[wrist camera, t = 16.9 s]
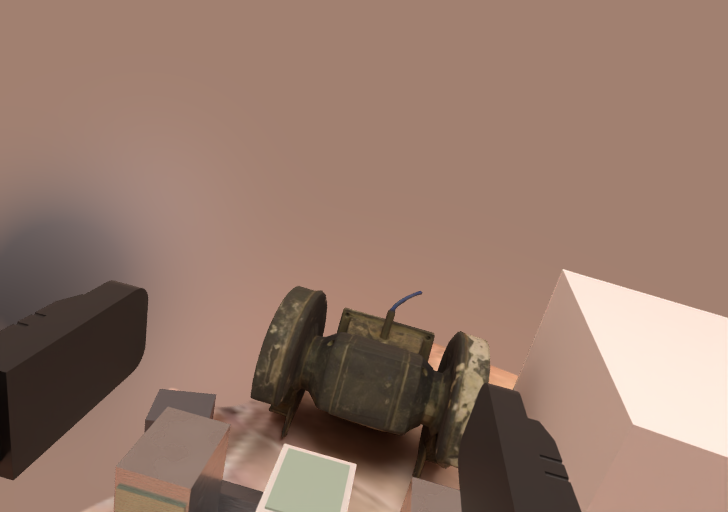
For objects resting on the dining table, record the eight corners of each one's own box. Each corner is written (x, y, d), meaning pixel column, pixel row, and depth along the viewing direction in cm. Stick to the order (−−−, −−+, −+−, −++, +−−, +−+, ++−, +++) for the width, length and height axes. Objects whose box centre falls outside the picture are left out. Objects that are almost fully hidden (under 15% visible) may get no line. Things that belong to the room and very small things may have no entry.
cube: (836, 882, 26) (1187, 617, 18) (479, 708, 30) (633, 424, 22) (677, 527, 49) (799, 339, 41) (486, 454, 53) (562, 269, 45)
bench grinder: (457, 544, 37) (528, 314, 39) (214, 446, 39) (293, 234, 41) (435, 464, 57) (483, 315, 59) (275, 403, 59) (326, 261, 61)
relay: (208, 451, 44) (216, 394, 42) (199, 485, 41) (207, 425, 38) (155, 447, 43) (159, 388, 41) (141, 482, 40) (145, 419, 37)
